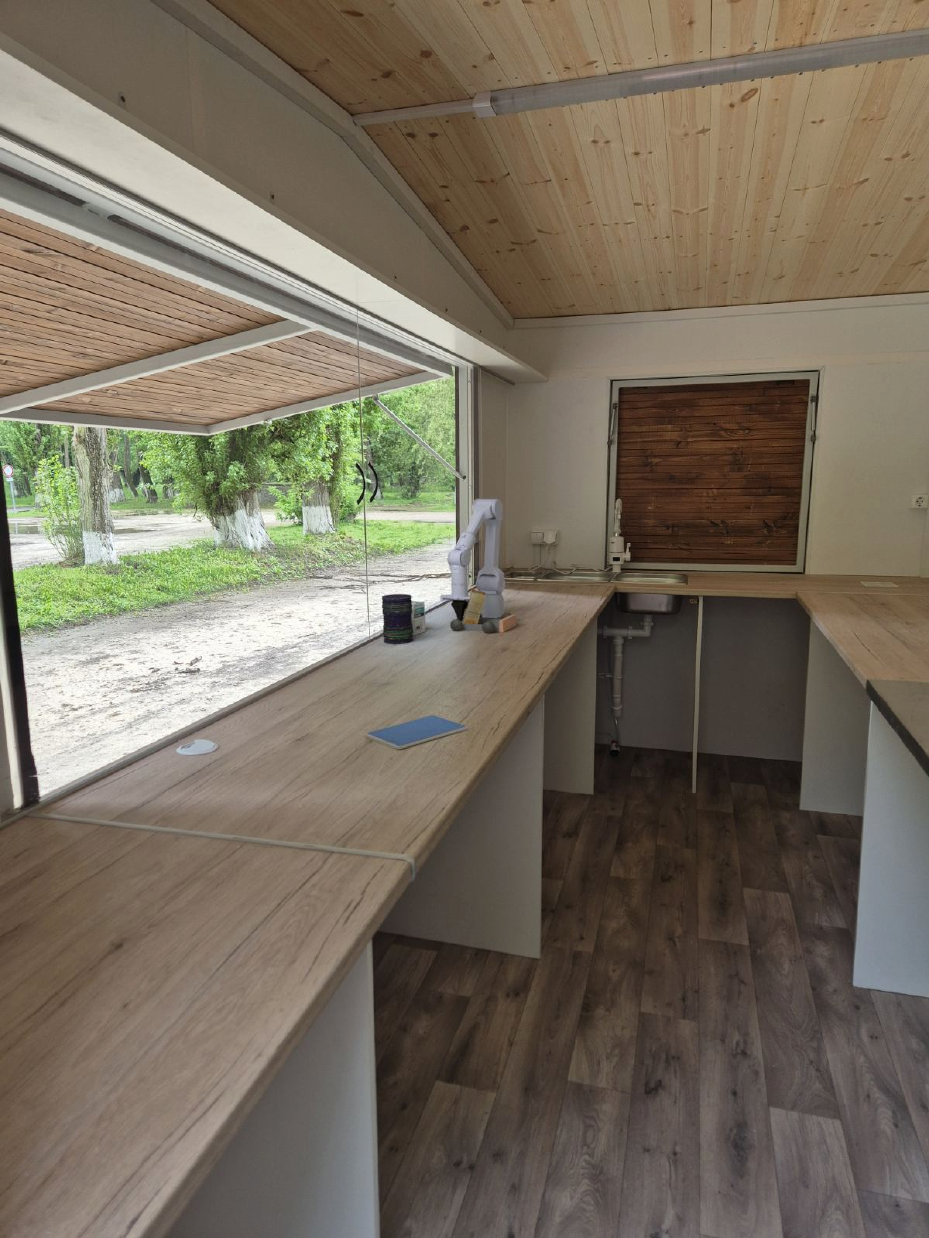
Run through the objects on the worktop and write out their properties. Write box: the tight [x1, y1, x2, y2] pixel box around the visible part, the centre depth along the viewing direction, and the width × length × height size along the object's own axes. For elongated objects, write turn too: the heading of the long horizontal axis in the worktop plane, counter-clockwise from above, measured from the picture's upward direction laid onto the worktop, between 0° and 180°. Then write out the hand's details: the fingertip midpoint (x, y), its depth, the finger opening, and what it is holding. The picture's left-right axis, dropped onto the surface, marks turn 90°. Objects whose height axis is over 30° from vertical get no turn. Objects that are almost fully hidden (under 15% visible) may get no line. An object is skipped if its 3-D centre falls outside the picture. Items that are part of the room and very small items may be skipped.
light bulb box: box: [411, 600, 427, 636], centre depth 283 cm, size 11×7×11 cm, turn 58°
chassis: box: [450, 612, 517, 634], centre depth 289 cm, size 19×19×4 cm
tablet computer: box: [364, 714, 469, 750], centre depth 177 cm, size 19×13×1 cm, turn 132°
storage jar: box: [381, 593, 414, 645], centre depth 269 cm, size 10×10×15 cm
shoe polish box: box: [462, 588, 486, 624], centre depth 290 cm, size 5×5×12 cm
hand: (460, 621), depth 293 cm, fingers closed
